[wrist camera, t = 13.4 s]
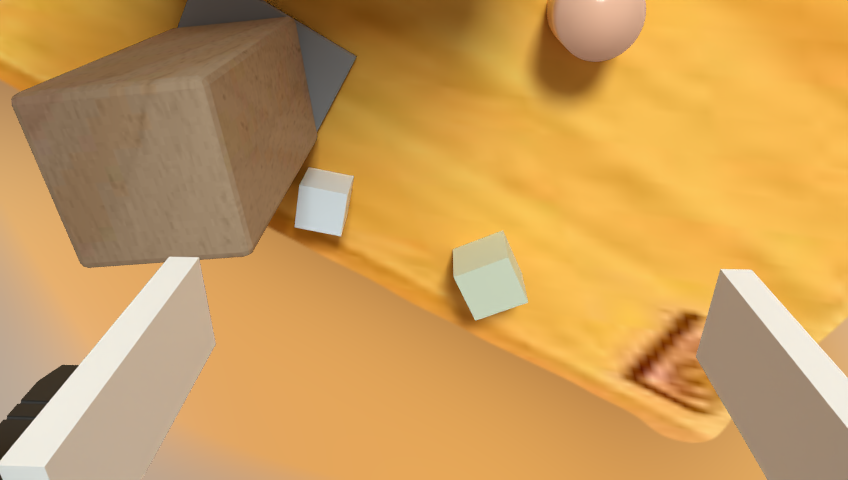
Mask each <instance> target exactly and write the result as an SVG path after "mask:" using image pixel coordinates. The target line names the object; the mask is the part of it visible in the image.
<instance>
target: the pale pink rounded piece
mask: <svg viewBox="0 0 848 480" xmlns="http://www.w3.org/2000/svg"><path fill="white" fill-rule="evenodd" d="M546 12H547V21H548V24H549V27H550V29H551V31H552V32H553V34H554V35H555V36H556V38H557V39H558V40H559V41H560V42H561V43H562V44H563V45H564V46H565V47H566V49H567V50H568V51H569V52H571V53H572V54H573V55H574V56H576V57H578V58H580V59H582V60H586V61H592V62H599V61H605V60H609V59H612V58H614V57H616V56H618V55H620V54H622V53H623V52H624V51H626V50H627V49H628V48H629V47H630V46H631V45H632V44H633V43H634V42H635V40H636V39H637V37H638V36H639V34H640V32H641V30H642V27H643V24H644V21H645V16H646V3H645V0H548V2H547V10H546Z"/></svg>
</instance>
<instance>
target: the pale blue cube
mask: <svg viewBox="0 0 848 480" xmlns="http://www.w3.org/2000/svg"><path fill="white" fill-rule="evenodd" d="M353 179H354V176H350V175H345V174H340V173H336V172H331V171H326V170H321V169H316V168H311V167H309V168H308V170H307V172H306V173H305V175H304V177H303V179H302V181H301V183H300V185H299V192H298V201H297V210H296V218H295V227H296V228H301V229H306V230H311V231H316V232H321V233H326V234H332V235H337V236H341V235H342V231H343V228H344V225H345V222H346V219H347V216H348V210H349V203H350V197H351V191H352V185H353Z"/></svg>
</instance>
